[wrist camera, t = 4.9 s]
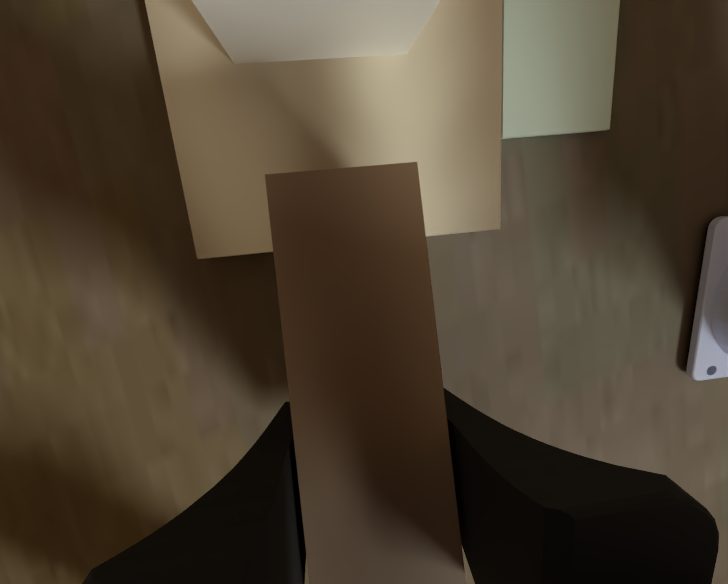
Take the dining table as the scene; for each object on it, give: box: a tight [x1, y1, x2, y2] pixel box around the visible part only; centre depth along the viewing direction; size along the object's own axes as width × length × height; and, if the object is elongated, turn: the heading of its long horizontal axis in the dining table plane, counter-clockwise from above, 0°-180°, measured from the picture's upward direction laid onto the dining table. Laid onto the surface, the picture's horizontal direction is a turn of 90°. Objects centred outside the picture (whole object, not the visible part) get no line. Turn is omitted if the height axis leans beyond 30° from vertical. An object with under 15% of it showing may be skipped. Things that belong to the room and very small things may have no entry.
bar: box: [265, 162, 466, 584], centre depth 12 cm, size 4×11×6 cm, turn 5°
